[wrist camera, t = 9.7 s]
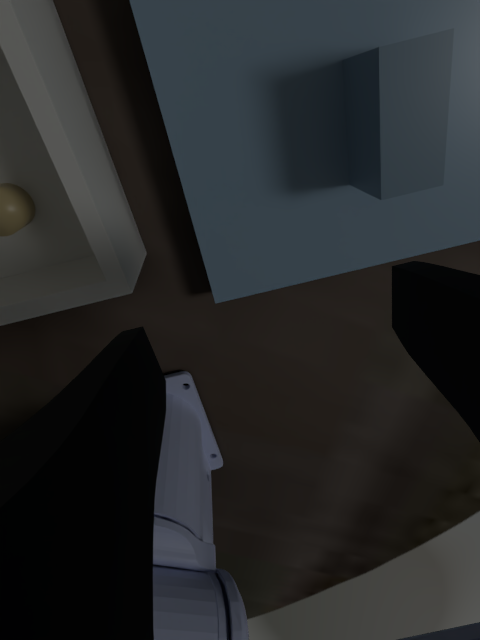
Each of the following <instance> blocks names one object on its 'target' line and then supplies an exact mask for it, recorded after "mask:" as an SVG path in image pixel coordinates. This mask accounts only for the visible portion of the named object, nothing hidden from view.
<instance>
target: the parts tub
mask: <svg viewBox="0 0 480 640" xmlns="http://www.w3.org/2000/svg"><path fill="white" fill-rule="evenodd" d="M146 254H147V252H146V250H145V247H144V244H143V242H142V239H141V236H140V234H139V231H138V228H137V226H136V223H135V220H134V218H133V215H132V212H131V209H130V207H129V204H128V201H127V199H126V196H125V193H124V191H123V188H122V185H121V183H120V180H119V177H118V175H117V172H116V169H115V166H114V164H113V161H112V158H111V156H110V153H109V150H108V148H107V145H106V142H105V140H104V137H103V134H102V132H101V129H100V126H99V123H98V121H97V118H96V115H95V113H94V110H93V107H92V105H91V102H90V99H89V97H88V94H87V91H86V89H85V86H84V83H83V80H82V78H81V75H80V72H79V70H78V67H77V64H76V62H75V59H74V56H73V54H72V51H71V48H70V46H69V43H68V40H67V37H66V35H65V32H64V29H63V27H62V24H61V21H60V19H59V16H58V13H57V11H56V8H55V5H54V3H53V0H0V326H1V325H5V324H9V323H13V322H17V321H21V320H25V319H30V318H34V317H38V316H42V315H46V314H50V313H54V312H58V311H62V310H66V309H70V308H74V307H78V306H82V305H86V304H90V303H94V302H98V301H102V300H106V299H110V298H115V297H119V296H123V295H127V294H131V293H132V292H133V290H134V287H135V284H136V281H137V279H138V276H139V273H140V270H141V268H142V265H143V262H144V259H145V257H146Z"/></svg>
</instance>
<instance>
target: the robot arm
mask: <svg viewBox="0 0 480 640" xmlns="http://www.w3.org/2000/svg"><path fill="white" fill-rule="evenodd" d="M392 328H393V329H394V331H395V333H396V334H397V336H398V338H399V339H400V341H401V343H402V344H403V346H404V347H405V349H406V351H407V352H408V354H409V355H410V356H411V357H412V359H413V360H414V361H415V362H416V364H417V365H418V366H419V367H420V368H421V369H422V371H423V372H424V373H425V374H426V375H427V377H428V378H429V379H430V380H431V381H432V382H433V384H434V385H435V386H436V387H437V388H438V390H439V391H440V392H441V393H442V394H443V395H444V397H445V398H446V399H447V400H448V401H449V402H450V404H451V405H452V406H453V407H454V408H455V409H456V411H457V412H458V413H459V414H460V416H461V417H462V418H463V419H464V421H465V422H466V423H467V425H468V426H469V427H470V429H471V430H472V432H473V433H474V434H475V436H476V437H477V439H478V440H479V442H480V275H477V274H473V273H468V272H464V271H460V270H456V269H452V268H448V267H444V266H439V265H435V264H430V263H425V262H418V261H412V262H408V263H404V264H400V265H396V266H392ZM185 383H187V384H189V385H188V386H185V385H183V384H185ZM222 465H223V459H222V456H221V454H220V451H219V448H218V446H217V443H216V440H215V438H214V435H213V432H212V429H211V427H210V424H209V421H208V419H207V416H206V413H205V411H204V408H203V405H202V403H201V400H200V397H199V395H198V392H197V389H196V387H195V384H194V381H193V379H192V376H191V374H190V373H188V372H186V371H182V372H177V373H173V374H169V375H165V376H164V375H163V373H162V370H161V368H160V366H159V363H158V361H157V359H156V356H155V354H154V352H153V349H152V347H151V344H150V342H149V340H148V337H147V335H146V333H145V330H144V328H143V327H139V328H135V329H131V330H127V331H122V332H121V333H120V334H119V335H117V336H116V337H115V338H114V339H113V340H112V341H111V342H110V343H109V344H108V345H107V346H106V347H105V348H104V349H103V350H102V351H101V352H100V353H99V354H98V355H97V356H96V357H95V358H94V359H93V360H92V361H91V363H90V364H89V365H88V366H87V367H86V368H85V369H84V370H83V371H82V372H81V373H80V374H79V375H78V376H77V377H76V378H75V379H74V380H72V381H71V382H70V383H69V384H68V385H67V386H66V387H65V388H64V389H63V390H62V391H61V392H60V393H59V394H58V395H57V396H56V397H54V398H53V399H52V400H51V401H50V402H49V403H48V404H47V405H46V406H44V407H43V408H42V409H41V410H40V411H39V412H37V413H36V414H35V415H34V416H33V417H31V418H30V419H29V420H28V421H26V422H25V423H24V424H23V425H21V426H20V427H19V428H18V429H16V430H15V431H14V432H12V433H11V434H10V435H9V436H7V437H6V438H4V439H3V440H2V441H0V640H249V634H248V625H247V617H246V611H245V607H244V604H243V600H242V597H241V595H240V593H239V591H238V589H237V586H236V583H235V581H234V580H233V578H232V576H231V575H230V574H229V572H227V571H225V570H223V569H216V558H215V545H214V544H213V521H212V491H211V470H214V469H218V468H220V467H222ZM398 640H480V622H479V623H474V624H469V625H465V626H460V627H455V628H450V629H446V630H441V631H436V632H431V633H427V634H422V635H417V636H412V637H408V638H403V639H398Z"/></svg>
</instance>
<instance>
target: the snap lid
mask: <svg viewBox="0 0 480 640" xmlns="http://www.w3.org/2000/svg"><path fill="white" fill-rule="evenodd" d="M130 4H131V8H132V11H133V15H134V18H135V22H136V25H137V29H138V32H139V36H140V39H141V43H142V46H143V50H144V53H145V57H146V60H147V64H148V67H149V71H150V74H151V78H152V82H153V85H154V89H155V92H156V96H157V99H158V103H159V106H160V110H161V113H162V117H163V120H164V124H165V127H166V131H167V134H168V138H169V141H170V145H171V148H172V152H173V156H174V159H175V163H176V166H177V170H178V173H179V177H180V180H181V184H182V187H183V191H184V194H185V198H186V201H187V205H188V208H189V212H190V215H191V219H192V223H193V226H194V230H195V233H196V237H197V240H198V244H199V247H200V251H201V254H202V258H203V261H204V265H205V268H206V272H207V275H208V279H209V282H210V286H211V289H212V293H213V297H214V300H215V304H216V303H220V302H224V301H228V300H232V299H236V298H241V297H245V296H249V295H253V294H257V293H262V292H266V291H270V290H274V289H278V288H282V287H287V286H291V285H295V284H299V283H303V282H308V281H312V280H316V279H320V278H324V277H328V276H333V275H337V274H341V273H345V272H349V271H354V270H358V269H362V268H366V267H370V266H374V265H379V264H383V263H387V262H391V261H395V260H400V259H404V258H408V257H412V256H416V255H420V254H425V253H429V252H433V251H437V250H441V249H446V248H450V247H454V246H458V245H462V244H466V243H471V242H475V241H479V240H480V0H130Z"/></svg>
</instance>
